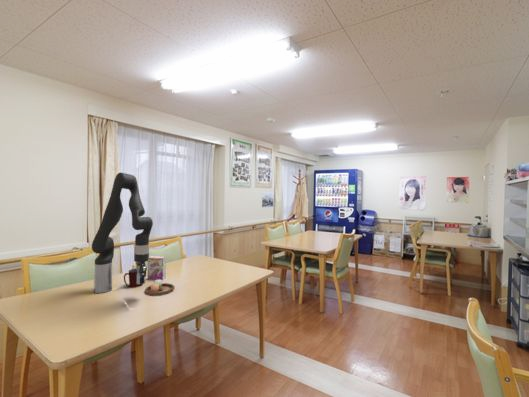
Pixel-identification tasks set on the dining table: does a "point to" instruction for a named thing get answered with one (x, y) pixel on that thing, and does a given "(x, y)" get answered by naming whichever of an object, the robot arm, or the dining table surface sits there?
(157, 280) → the bead sage
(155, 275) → the candy bar box
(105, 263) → the robot arm
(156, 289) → the bead terracotta
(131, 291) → the dining table surface
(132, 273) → the mug
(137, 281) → the bead blue
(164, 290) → the groove tray
